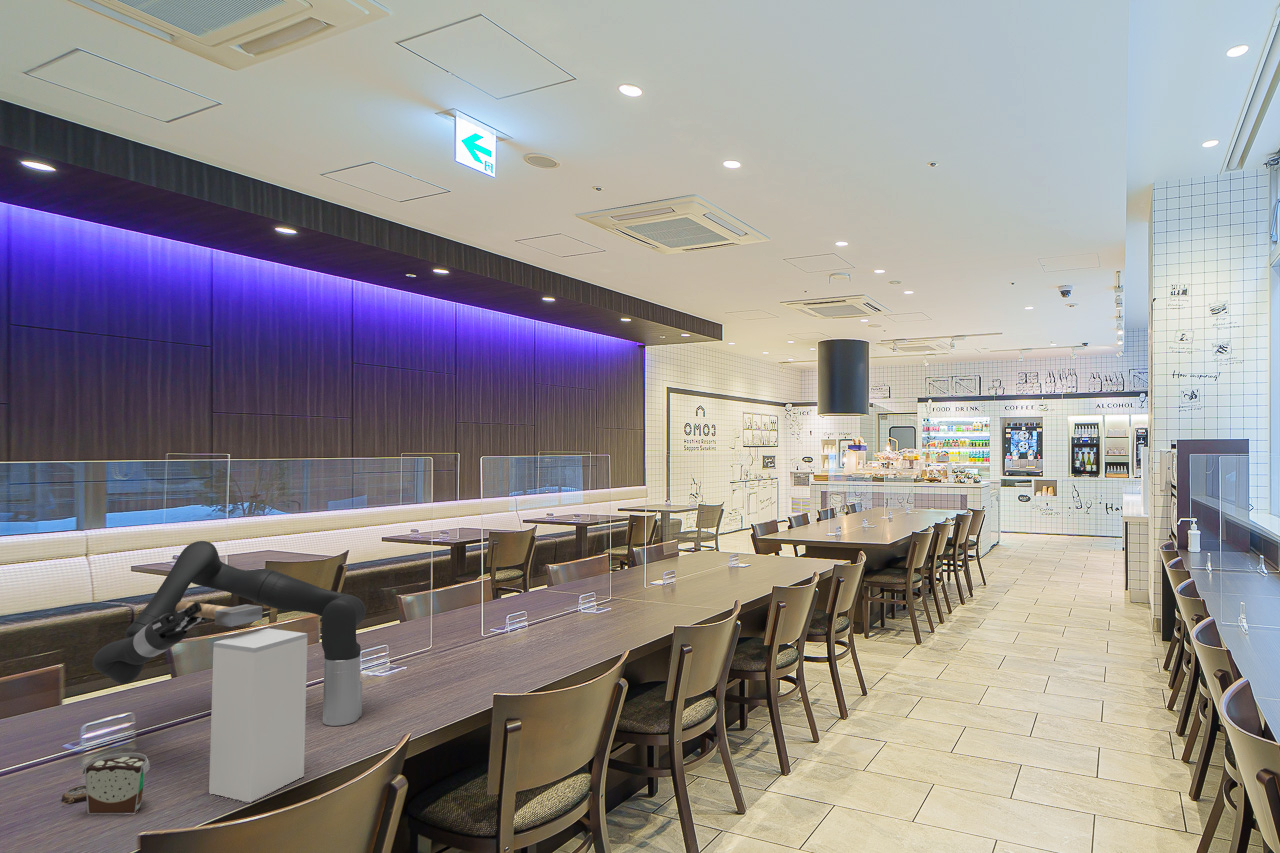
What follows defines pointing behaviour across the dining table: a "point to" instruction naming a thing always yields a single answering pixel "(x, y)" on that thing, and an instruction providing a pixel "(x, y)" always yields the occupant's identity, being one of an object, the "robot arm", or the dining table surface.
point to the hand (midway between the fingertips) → (206, 604)
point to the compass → (75, 795)
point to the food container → (115, 783)
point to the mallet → (226, 613)
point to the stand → (258, 713)
